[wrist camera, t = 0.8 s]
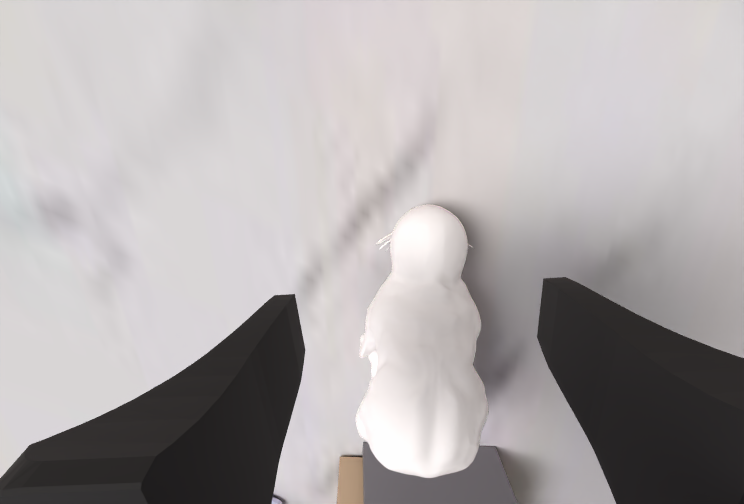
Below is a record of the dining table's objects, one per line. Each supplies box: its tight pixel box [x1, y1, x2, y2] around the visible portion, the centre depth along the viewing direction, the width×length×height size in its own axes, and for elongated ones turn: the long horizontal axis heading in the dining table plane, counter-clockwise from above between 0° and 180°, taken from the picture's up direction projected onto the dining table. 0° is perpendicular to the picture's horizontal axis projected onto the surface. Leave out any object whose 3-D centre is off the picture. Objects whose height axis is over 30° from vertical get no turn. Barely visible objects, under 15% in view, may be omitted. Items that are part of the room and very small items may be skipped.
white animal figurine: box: [356, 204, 489, 478], centre depth 20 cm, size 6×8×12 cm
